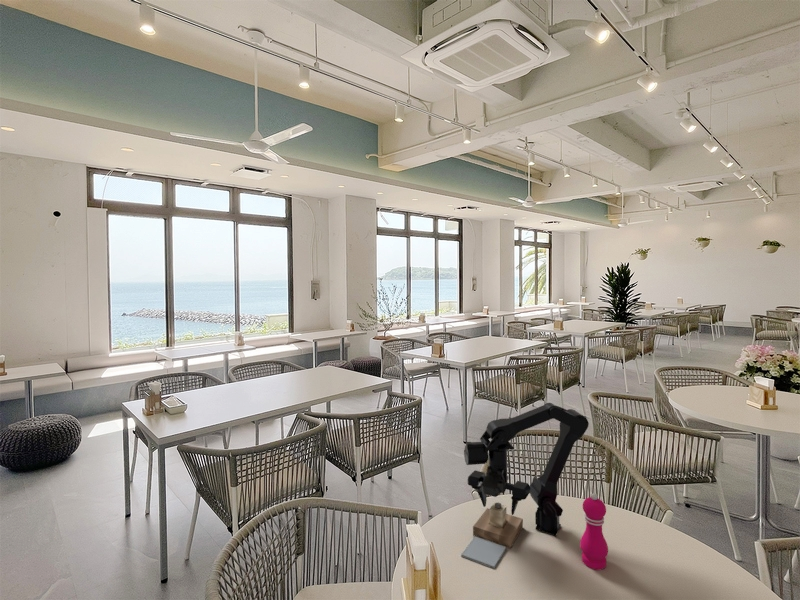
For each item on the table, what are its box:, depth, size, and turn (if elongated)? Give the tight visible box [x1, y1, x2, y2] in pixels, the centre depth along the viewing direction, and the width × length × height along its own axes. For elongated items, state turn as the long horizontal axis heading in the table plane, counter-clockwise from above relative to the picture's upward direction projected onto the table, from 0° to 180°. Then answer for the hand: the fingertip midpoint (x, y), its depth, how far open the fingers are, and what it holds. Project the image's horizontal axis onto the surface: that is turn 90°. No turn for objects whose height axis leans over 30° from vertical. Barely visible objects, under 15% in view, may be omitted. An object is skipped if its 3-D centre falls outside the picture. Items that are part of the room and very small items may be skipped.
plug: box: [489, 502, 507, 528], centre depth 135 cm, size 4×4×9 cm
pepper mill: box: [579, 492, 609, 571], centre depth 120 cm, size 7×7×20 cm
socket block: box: [472, 508, 524, 549], centre depth 136 cm, size 12×12×3 cm
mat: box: [460, 536, 507, 569], centre depth 126 cm, size 10×10×1 cm
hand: (498, 510), depth 135 cm, fingers open, 9 cm apart
